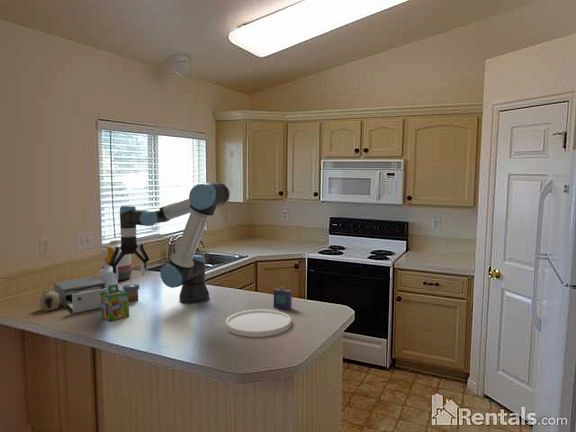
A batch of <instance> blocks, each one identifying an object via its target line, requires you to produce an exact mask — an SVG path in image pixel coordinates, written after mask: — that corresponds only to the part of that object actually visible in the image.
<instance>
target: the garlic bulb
mask: <svg viewBox="0 0 576 432" xmlns="http://www.w3.org/2000/svg"><path fill="white" fill-rule="evenodd" d="M39 302H40V307H41V308H42V310H43V312H51V311H50V310H52V311H54V310H57V309H58V308H59V306H60V305H61V304H60V302H61V299H60V295H59V294H58V293H56V292H55V291H54V290H53V289H52V290H50V289H48V290H45V291H44V292H43V293H42V295H41V296H40V299H39Z"/></svg>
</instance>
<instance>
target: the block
mask: <svg viewBox="0 0 576 432" xmlns="http://www.w3.org/2000/svg"><path fill="white" fill-rule="evenodd" d="M125 292H128V300H129V303H133V302H138V301H139V289H138V290H135V291H125Z"/></svg>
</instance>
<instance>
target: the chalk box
mask: <svg viewBox="0 0 576 432" xmlns="http://www.w3.org/2000/svg"><path fill="white" fill-rule="evenodd" d="M113 287H115V288H116V290H111V288H113ZM108 290H109V291H107V292H103V293H100V296H101V308H100V313H101V318H102V319H105V320H108V321H109V322H114V321H117V320H120V319H121V320H122V319H125V318H128V317H130V306H129V305H130V302H129V300H128V292H125V291H123V289H119V286H118V285H117V284H115V285H111V286H108Z"/></svg>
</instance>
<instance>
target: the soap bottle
mask: <svg viewBox="0 0 576 432" xmlns="http://www.w3.org/2000/svg"><path fill="white" fill-rule="evenodd" d="M104 248H107V249H108V257H106V258H101V260H102V259H103V260H105V261H106V263H105V268H103V269H102V268H101V270H100V271H99V279H100V280H102V281H104V282H105V283H106V288H108V286H111V285H115V284H117V285H118V282H119V281H117V280H116V279H115V273H113V268H112V267H111V266H109V265H108V264H109V261H110V259H111V257H112V255H113V253H114V249H113V248H111V247H106V246H103V249H104ZM113 290H116V288H115V287H113Z"/></svg>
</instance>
